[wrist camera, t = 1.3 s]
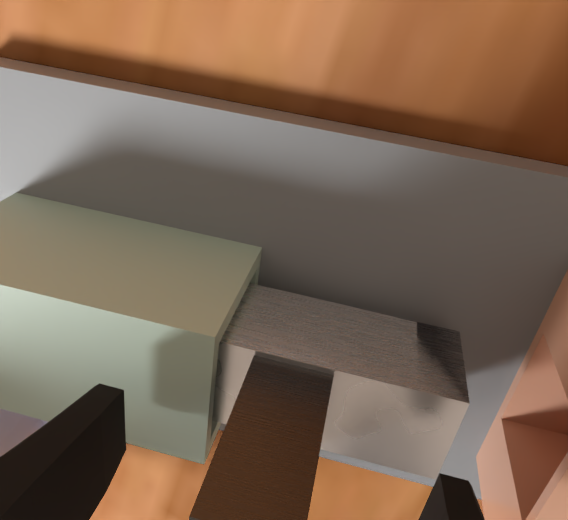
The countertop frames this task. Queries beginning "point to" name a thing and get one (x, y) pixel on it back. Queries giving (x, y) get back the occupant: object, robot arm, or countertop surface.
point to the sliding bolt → (324, 400)
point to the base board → (313, 211)
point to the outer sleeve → (116, 317)
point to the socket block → (532, 430)
